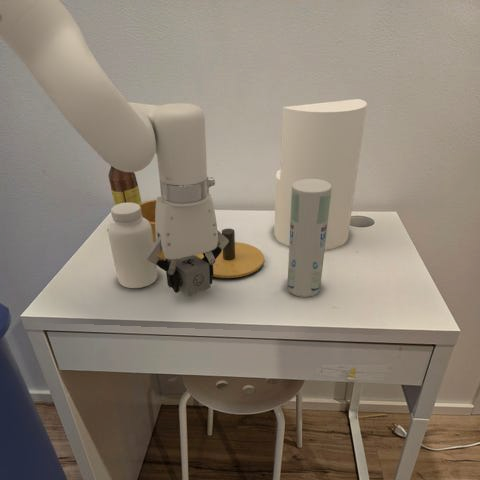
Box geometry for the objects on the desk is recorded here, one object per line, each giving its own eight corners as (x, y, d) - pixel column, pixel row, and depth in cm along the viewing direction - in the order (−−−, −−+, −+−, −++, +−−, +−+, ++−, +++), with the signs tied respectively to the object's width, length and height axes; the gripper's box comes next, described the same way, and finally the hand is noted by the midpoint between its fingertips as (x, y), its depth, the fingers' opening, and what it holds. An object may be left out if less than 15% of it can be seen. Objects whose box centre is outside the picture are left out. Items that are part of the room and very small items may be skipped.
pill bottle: (137, 294, 83) (123, 220, 74) (109, 281, 87) (93, 209, 78) (166, 276, 88) (157, 205, 79) (139, 265, 92) (127, 196, 83)
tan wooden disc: (212, 287, 84) (210, 254, 80) (184, 256, 95) (181, 225, 90) (276, 269, 89) (278, 237, 85) (243, 241, 100) (243, 211, 96)
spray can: (319, 299, 80) (330, 193, 68) (284, 295, 82) (289, 190, 70) (322, 281, 85) (333, 179, 73) (289, 277, 87) (294, 177, 75)
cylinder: (363, 241, 99) (385, 106, 82) (295, 256, 93) (305, 115, 77) (323, 214, 111) (335, 92, 95) (262, 226, 106) (263, 99, 90)
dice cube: (194, 276, 84) (192, 253, 81) (210, 287, 81) (209, 263, 78) (172, 285, 81) (170, 262, 78) (188, 297, 78) (186, 272, 75)
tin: (146, 266, 91) (140, 228, 86) (128, 240, 101) (122, 205, 96) (205, 251, 96) (203, 214, 91) (183, 228, 106) (179, 194, 101)
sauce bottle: (147, 222, 109) (134, 139, 98) (144, 233, 104) (130, 147, 93) (121, 223, 109) (104, 140, 97) (117, 234, 104) (99, 148, 92)
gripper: (222, 174, 76) (224, 265, 87) (125, 190, 70) (139, 286, 80) (242, 188, 71) (241, 283, 81) (139, 206, 64) (152, 307, 75)
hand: (191, 284), depth 81 cm, fingers closed on dice cube, 5 cm apart
